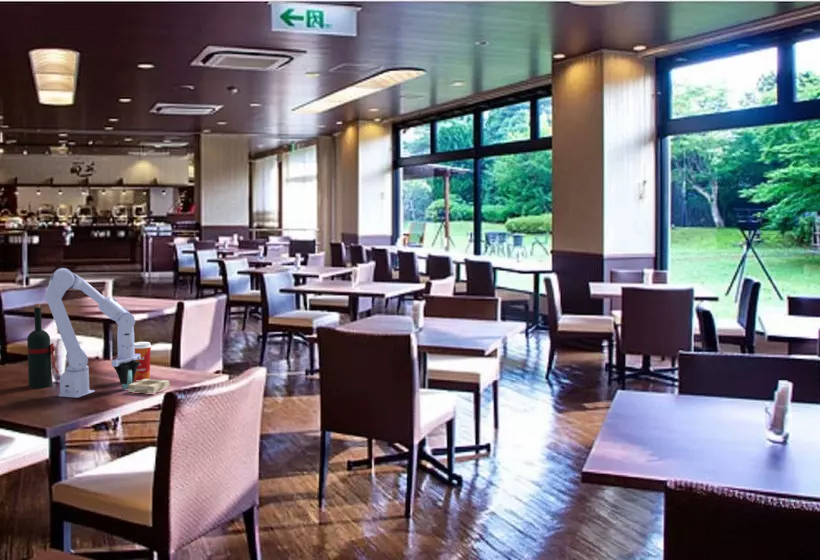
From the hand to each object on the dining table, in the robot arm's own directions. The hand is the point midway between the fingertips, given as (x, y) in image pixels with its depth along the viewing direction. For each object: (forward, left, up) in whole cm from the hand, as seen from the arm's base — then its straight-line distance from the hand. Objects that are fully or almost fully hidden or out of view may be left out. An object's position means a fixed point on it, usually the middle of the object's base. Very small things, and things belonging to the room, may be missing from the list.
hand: (127, 382), depth 282 cm
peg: (0, 0, -2) cm, 2 cm away
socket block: (0, -9, -2) cm, 9 cm away
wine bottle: (-4, +32, -3) cm, 32 cm away
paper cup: (+15, +4, -3) cm, 16 cm away
